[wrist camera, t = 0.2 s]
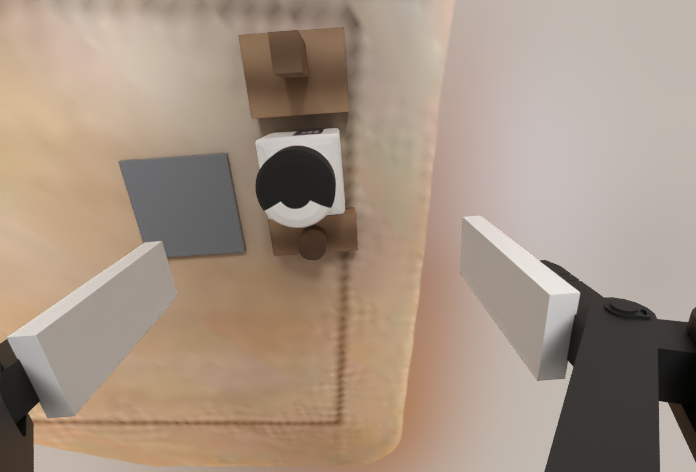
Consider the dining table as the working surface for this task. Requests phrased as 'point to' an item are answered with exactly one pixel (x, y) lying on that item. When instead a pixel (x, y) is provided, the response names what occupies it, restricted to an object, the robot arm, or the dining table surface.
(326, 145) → the container
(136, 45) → the dining table surface
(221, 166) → the plate
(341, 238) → the pair of wooden stands
